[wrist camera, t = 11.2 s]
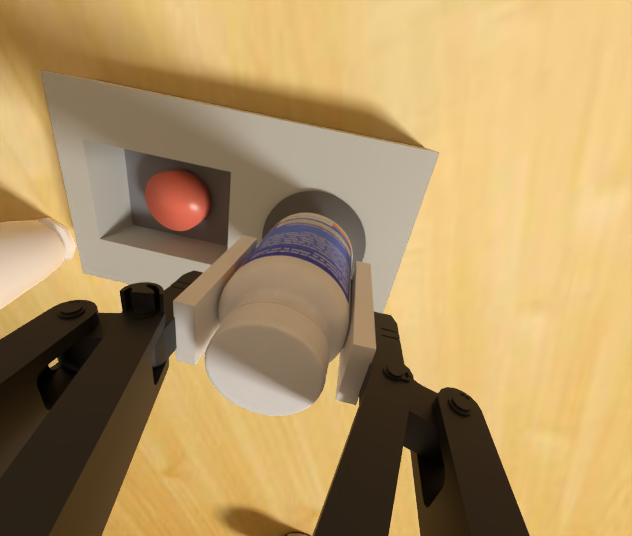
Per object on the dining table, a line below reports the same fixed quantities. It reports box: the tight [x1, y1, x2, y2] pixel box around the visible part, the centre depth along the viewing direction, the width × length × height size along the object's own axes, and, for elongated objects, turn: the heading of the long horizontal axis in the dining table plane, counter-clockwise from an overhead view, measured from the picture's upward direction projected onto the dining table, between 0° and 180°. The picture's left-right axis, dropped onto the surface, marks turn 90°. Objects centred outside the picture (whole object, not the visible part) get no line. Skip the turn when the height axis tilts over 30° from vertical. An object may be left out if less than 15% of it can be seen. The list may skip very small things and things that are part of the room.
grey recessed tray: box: [40, 70, 439, 314], centre depth 22 cm, size 24×14×4 cm, turn 80°
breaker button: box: [145, 169, 212, 231], centre depth 22 cm, size 4×4×2 cm
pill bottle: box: [205, 213, 353, 416], centre depth 14 cm, size 5×5×10 cm
